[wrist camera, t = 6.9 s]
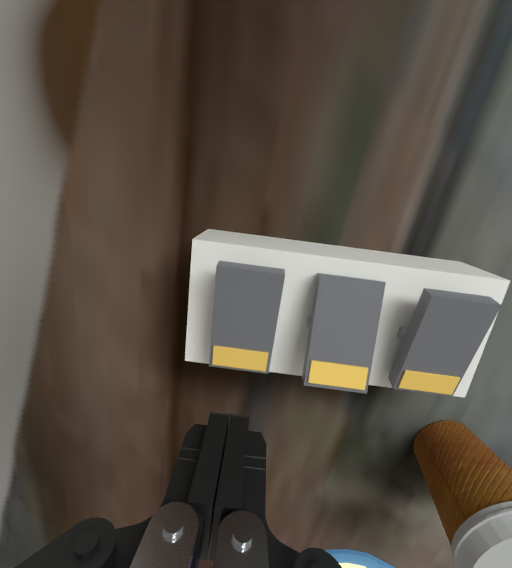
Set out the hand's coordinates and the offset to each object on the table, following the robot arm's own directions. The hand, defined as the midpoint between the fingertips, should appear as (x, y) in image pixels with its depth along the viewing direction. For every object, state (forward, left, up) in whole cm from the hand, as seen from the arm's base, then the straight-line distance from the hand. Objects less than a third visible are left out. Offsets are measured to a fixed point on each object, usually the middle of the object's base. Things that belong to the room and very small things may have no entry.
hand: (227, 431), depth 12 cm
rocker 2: (0, +7, -11) cm, 13 cm away
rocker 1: (0, 0, -11) cm, 11 cm away
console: (0, +7, -18) cm, 19 cm away
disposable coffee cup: (+15, +23, -18) cm, 33 cm away
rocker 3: (0, +14, -11) cm, 17 cm away
